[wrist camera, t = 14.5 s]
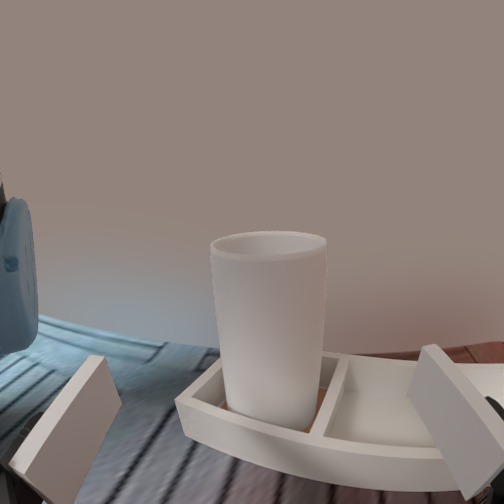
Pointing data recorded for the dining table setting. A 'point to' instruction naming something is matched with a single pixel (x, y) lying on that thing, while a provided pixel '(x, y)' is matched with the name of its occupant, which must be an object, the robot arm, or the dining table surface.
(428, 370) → the robot arm
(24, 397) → the dining table surface
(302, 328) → the cup
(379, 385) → the bay rack
